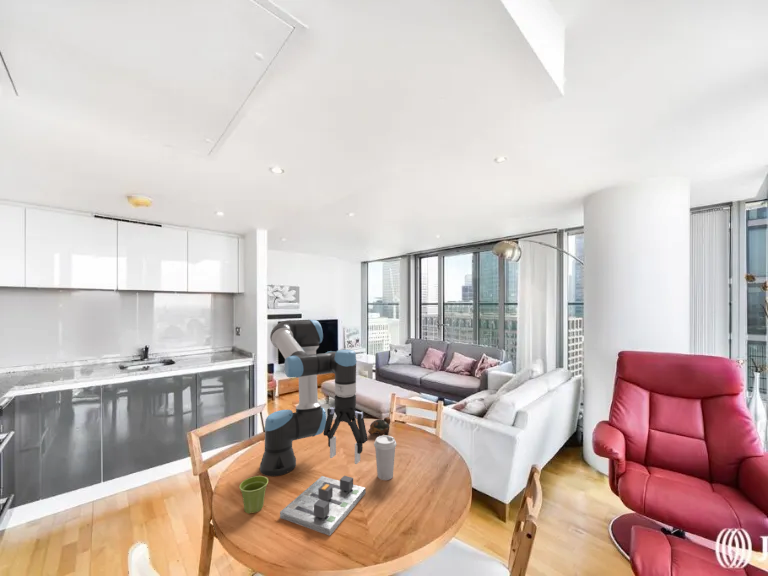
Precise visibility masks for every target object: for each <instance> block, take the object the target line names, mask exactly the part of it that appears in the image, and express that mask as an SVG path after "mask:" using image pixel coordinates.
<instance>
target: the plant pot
mask: <svg viewBox="0 0 768 576" xmlns="http://www.w3.org/2000/svg"><path fill="white" fill-rule="evenodd" d="M268 483H269V478H268V477H266V476H265V475H264V476H263V475H256V476H255V475H254V476H251V477H249V478H246V479H244V480H242V482H241V483H239V485H238V486H239V490H240V493H241V495H242V501H243V510H244V512H245V513H246V514H248V515H249V514H256V513H258V512H260V511H261V510H262V509H263V507H264V501H265V494H266V489H267V485H268Z"/></svg>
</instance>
